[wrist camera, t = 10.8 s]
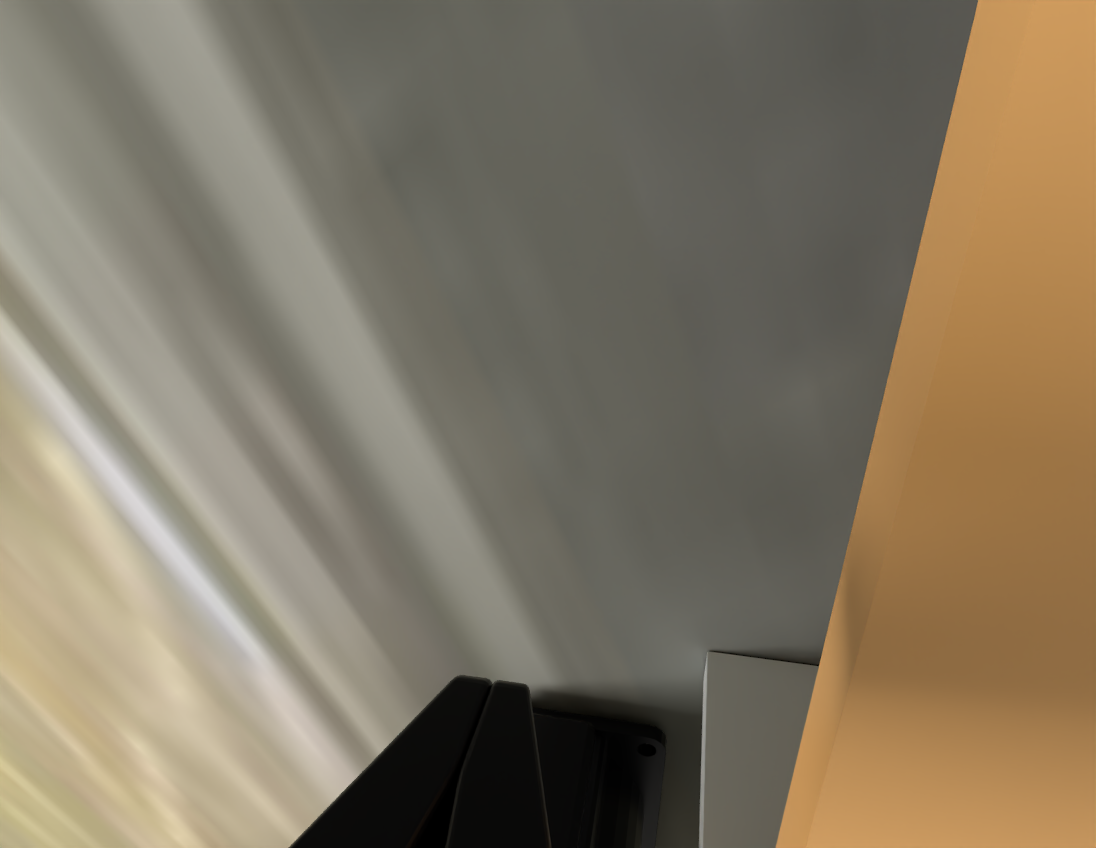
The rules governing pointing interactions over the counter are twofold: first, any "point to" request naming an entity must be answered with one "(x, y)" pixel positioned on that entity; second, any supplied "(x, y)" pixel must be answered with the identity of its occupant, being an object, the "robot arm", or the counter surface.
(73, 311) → the counter surface
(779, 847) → the orange cover
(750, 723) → the housing
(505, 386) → the counter surface
